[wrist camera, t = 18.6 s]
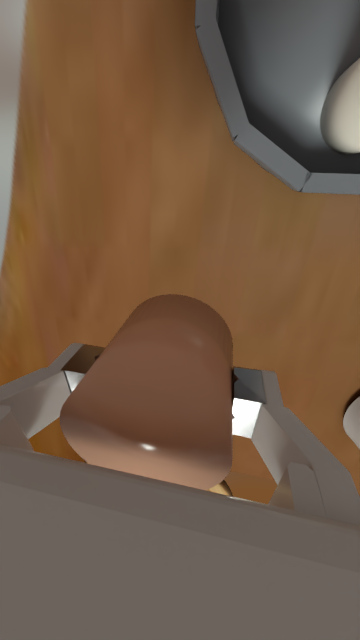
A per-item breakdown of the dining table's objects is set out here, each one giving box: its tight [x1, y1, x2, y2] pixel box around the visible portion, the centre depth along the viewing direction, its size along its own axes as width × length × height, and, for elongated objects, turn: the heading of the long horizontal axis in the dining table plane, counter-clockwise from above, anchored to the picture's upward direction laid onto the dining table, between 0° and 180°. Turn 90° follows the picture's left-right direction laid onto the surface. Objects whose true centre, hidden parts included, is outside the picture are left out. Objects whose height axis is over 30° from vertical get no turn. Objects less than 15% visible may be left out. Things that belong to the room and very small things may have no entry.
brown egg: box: [60, 294, 233, 490], centre depth 9 cm, size 5×5×5 cm
